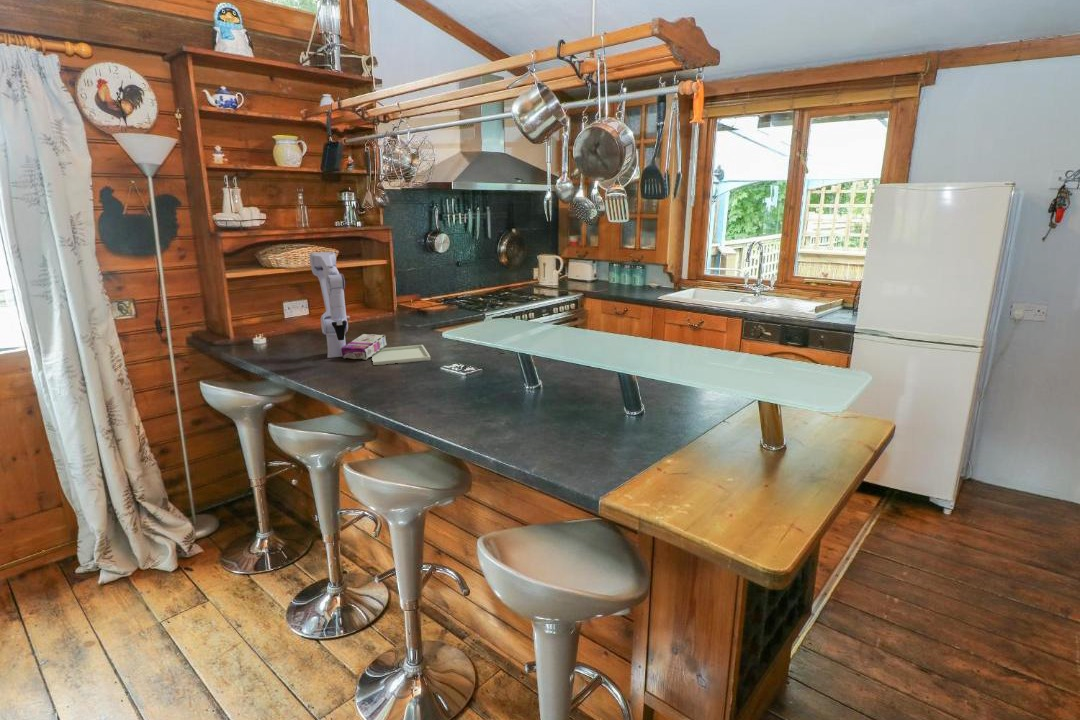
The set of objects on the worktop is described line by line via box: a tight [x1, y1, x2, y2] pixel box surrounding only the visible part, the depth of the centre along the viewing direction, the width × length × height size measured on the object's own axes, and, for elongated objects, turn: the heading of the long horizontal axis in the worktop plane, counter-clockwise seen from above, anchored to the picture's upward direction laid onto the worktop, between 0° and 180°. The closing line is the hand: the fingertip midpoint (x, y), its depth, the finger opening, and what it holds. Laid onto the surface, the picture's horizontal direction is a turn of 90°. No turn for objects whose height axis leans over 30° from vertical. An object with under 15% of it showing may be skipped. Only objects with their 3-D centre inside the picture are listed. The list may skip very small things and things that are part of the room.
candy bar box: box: [341, 333, 388, 361], centre depth 243 cm, size 11×5×16 cm
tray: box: [370, 344, 432, 366], centre depth 241 cm, size 22×22×2 cm
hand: (341, 339), depth 232 cm, fingers closed
